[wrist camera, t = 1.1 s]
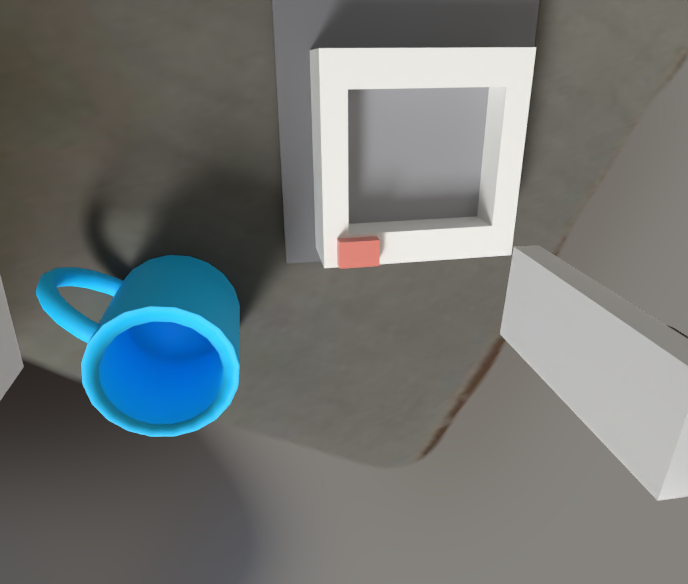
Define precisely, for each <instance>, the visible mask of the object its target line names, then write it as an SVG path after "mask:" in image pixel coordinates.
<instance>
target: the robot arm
mask: <svg viewBox="0 0 688 584" xmlns="http://www.w3.org/2000/svg"><path fill="white" fill-rule="evenodd" d="M500 335H501V336H502V337H503V338H504V339H505V340H506V341H507V342H508V343H509V344H510V345H511V346H512V347H513V348H514V349H515V350H516V351H517V352H518V353H519V355H520V356H521V357H522V358H523V359H524V360H525V361H526V362H527V363H528V364H529V365H530V366H531V367H532V368H533V369H534V370H535V372H536V373H537V374H538V375H539V376H540V377H541V378H542V379H543V380H544V381H545V382H546V383H547V384H548V385H549V386H550V387H551V388H552V389H553V391H554V392H555V393H556V394H557V395H558V396H559V397H560V398H561V399H562V400H563V401H564V402H565V403H566V404H567V405H568V406H569V407H570V408H571V410H572V411H573V412H574V413H575V414H576V415H577V416H578V417H579V418H580V419H581V420H582V421H583V422H584V423H585V424H586V425H587V427H589V429H590V430H591V431H592V432H593V433H594V434H595V435H596V436H597V437H598V438H599V439H600V440H601V441H602V442H603V443H604V444H605V446H606V447H607V448H608V449H609V450H610V451H611V452H612V453H613V454H614V455H615V456H616V457H617V458H618V459H619V460H620V461H621V463H623V465H624V466H625V467H627V469H628V470H629V471H630V472H631V473H632V474H633V475H634V476H635V477H636V478H637V479H638V480H639V481H640V483H641V484H642V485H643V486H644V487H645V488H646V489H647V490H648V491H649V492H650V493H651V494H652V495H653V496H654V497H655V498H656V500H666V499H673V498H680V497H687V496H688V337H687V336H686V335H684V334H682V333H681V332H679V331H678V330H676V329H674V328H672V327H670V326H667V325H665V324H664V323H662V322H660V321H659V320H657V319H656V318H654V317H652V316H651V315H649V314H647V313H646V312H644V311H643V310H641V309H640V308H638V307H636V306H635V305H633V304H631V303H630V302H628V301H627V300H625V299H624V298H622V297H620V296H619V295H617V294H616V293H614V292H612V291H611V290H609V289H608V288H606V287H604V286H603V285H601V284H600V283H598V282H596V281H595V280H593V279H592V278H590V277H588V276H587V275H585V274H583V273H582V272H580V271H579V270H577V269H576V268H574V267H573V266H571V265H569V264H568V263H566V262H565V261H563V260H561V259H560V258H558V257H557V256H555V255H553V254H552V253H550V252H549V251H547V250H545V249H544V248H542V247H541V246H518V247H514V250H513V256H512V262H511V269H510V275H509V281H508V287H507V293H506V300H505V306H504V312H503V318H502V325H501V331H500ZM22 368H23V363H22V359H21V355H20V351H19V347H18V343H17V339H16V335H15V331H14V327H13V323H12V319H11V315H10V312H9V308H8V304H7V300H6V296H5V292H4V288H3V284H2V280H1V276H0V400H1V399H2V397H3V396H4V394H5V393H6V391H7V390H8V389H9V387H10V386H11V384H12V383H13V381H14V380H15V379H16V377H17V376H18V374H19V373H20V371H21V370H22Z"/></svg>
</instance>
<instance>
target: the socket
mask: <svg viewBox="0 0 688 584" xmlns="http://www.w3.org/2000/svg"><path fill="white" fill-rule="evenodd" d="M539 1H540V0H272V13H273V31H274V50H275V68H276V86H277V104H278V123H279V141H280V159H281V177H282V196H283V214H284V232H285V251H286V263H287V264H289V263H304V262H319V261H322V264H323V266H324V268H334V267H339V268H340V269H343V268H357V267H371V266H379V264H391V263H405V262H419V261H433V260H447V259H461V258H476V257H490V256H504V255H511V252H512V244H513V236H514V227H515V219H516V211H517V203H518V194H519V186H520V178H521V170H522V162H523V153H524V145H525V137H526V129H527V120H528V112H529V104H530V96H531V88H532V79H533V71H534V63H535V55H536V47H534V43H535V34H536V26H537V18H538V9H539Z"/></svg>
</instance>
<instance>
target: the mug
mask: <svg viewBox="0 0 688 584" xmlns="http://www.w3.org/2000/svg"><path fill="white" fill-rule="evenodd" d="M61 286H76V287H83V288H89V289H92V290H96V291H99V292H103V293H106V294H108V295H111V296H113V299H112V301H111V302H110V304H109V306H108V308H107V310H106V311H105V313H104V315H103V317H102V319H101V320H100V322H99V324H98V323H96V322H94V321H92V320H90V319H89V318H87V317H86V316H84V315H83V314H81V313H80V312H79V311H77V310H76V309H74V308H73V307H71V306H70V305H69V304H68V303H67V302H66V301H65V300H64V299H63V297H62V296H61V295H60V294H59V292H58V290H57V288H58V287H61ZM36 295H37V297H38V299H39V302H40V304H41V306H42V308H43V309H44V310H45V312H46V313H47V314H48V315H49V316H50V317H51V318H52V319H53V320H54V321H55V322H56V323H57V324H58V325H60V326H61V327H63V328H64V329H65V330H67V331H68V332H70V333H71V334H73V335H74V336H75V337H77V338H79V339H81V340H83V341H85V342H87V343H88V345H87V348H86V351H85V354H84V357H83V360H82V362H81V367H82V382H83V386H84V388H85V390H86V392H87V395H88V397H89V399H90V401H91V403H92V404H93V405H94V407H95V408H96V409H97V410H98V411H99V412H100V413H101V414H102V415H104V416H105V418H106V419H107V420H109V421H111V422H113V423H114V424H116V425H118V426H120V427H122V428H123V429H125V430H127V431H130V432H134V433H138V434H143V435H147V436H151V437H153V436H154V437H155V436H156V437H157V436H158V437H159V436H177V435H182V434H185V433H189V432H193V431H196V430H199V429H200V428H202V427H204V426H205V425H207V424H209V423H211V422H212V421H214V420H216V419H217V418H218V417H219V416H220V415H221V413H222V412H223V411H224V410H225V409H226V408H227V407H228V406H229V405H230V403H231V401H232V399H233V397H234V394H235V392H236V390H237V388H238V383H239V365H240V305H239V301H238V298H237V295H236V292H235V289H234V287H233V286H232V285H231V283H230V282H229V280H228V279H227V278H226V276H225V275H224V274H223V273H222V272H220V271H219V270H217V269H216V268H215V267H213V266H212V265H211V264H209V263H207V262H205V261H202V260H199V259H196V258H193V257H191V256H179V255H167V256H162V257H158V258H154V259H150V260H148V261H146V262H144V263H143V264H141V265H139V266H138V267H136V268H134V269H133V270H132V271H131V272H130V273H129V275H128V276H127V277H126V278H125V279H124V281H123V280H120V279H118V278H116V277H113V276H110V275H107V274H103V273H100V272H97V271H94V270H88V269H82V268H76V267H66V268H55V269H53V270H51V271H49V272H47V273H45V274H43V275H42V276H41V277H40V279H39V283H38V286H37V289H36Z"/></svg>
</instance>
